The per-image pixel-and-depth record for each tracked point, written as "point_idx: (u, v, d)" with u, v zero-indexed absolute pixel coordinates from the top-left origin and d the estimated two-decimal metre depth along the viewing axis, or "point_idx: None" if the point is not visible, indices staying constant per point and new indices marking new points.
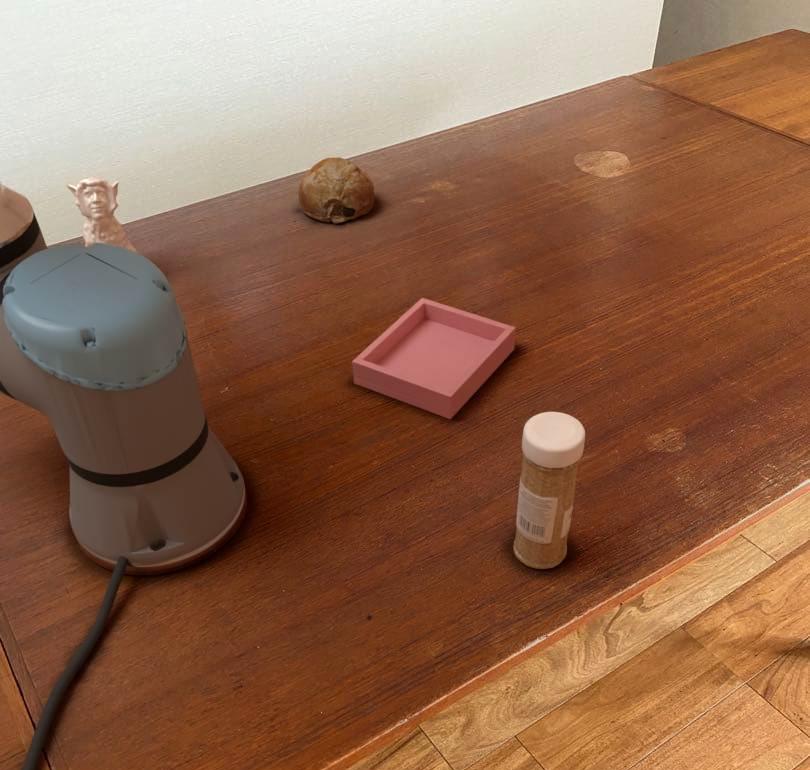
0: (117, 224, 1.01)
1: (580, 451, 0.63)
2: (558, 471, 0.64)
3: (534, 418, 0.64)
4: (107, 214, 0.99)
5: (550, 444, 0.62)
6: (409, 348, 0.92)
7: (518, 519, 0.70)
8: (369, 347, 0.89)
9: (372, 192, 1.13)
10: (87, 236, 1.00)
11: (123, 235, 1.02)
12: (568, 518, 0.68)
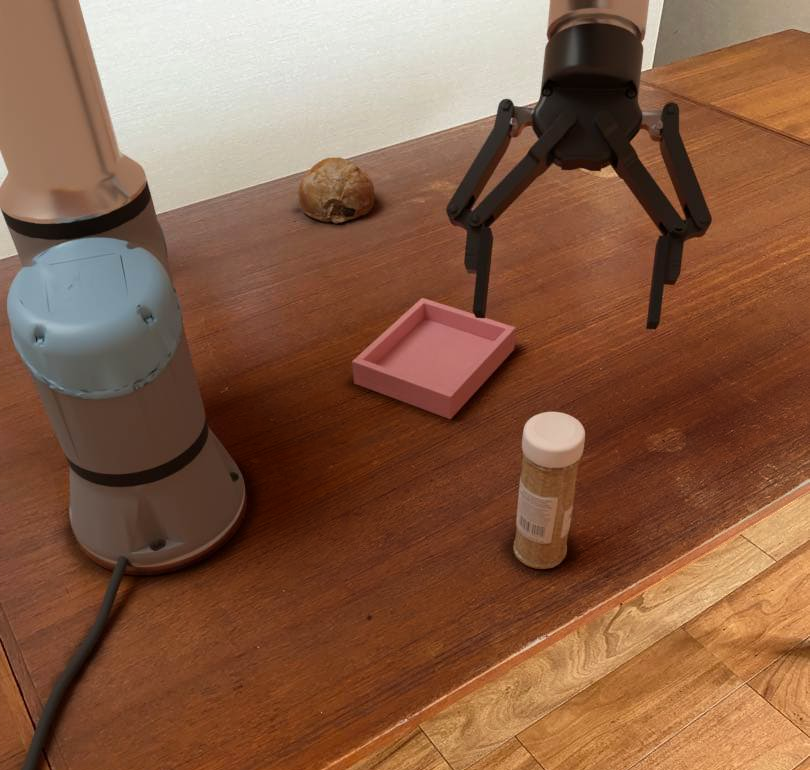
0: None
1: (580, 451, 0.63)
2: (558, 471, 0.64)
3: (534, 418, 0.64)
4: None
5: (550, 444, 0.62)
6: (409, 348, 0.92)
7: (518, 519, 0.70)
8: (369, 347, 0.89)
9: (372, 192, 1.13)
10: None
11: None
12: (568, 518, 0.68)
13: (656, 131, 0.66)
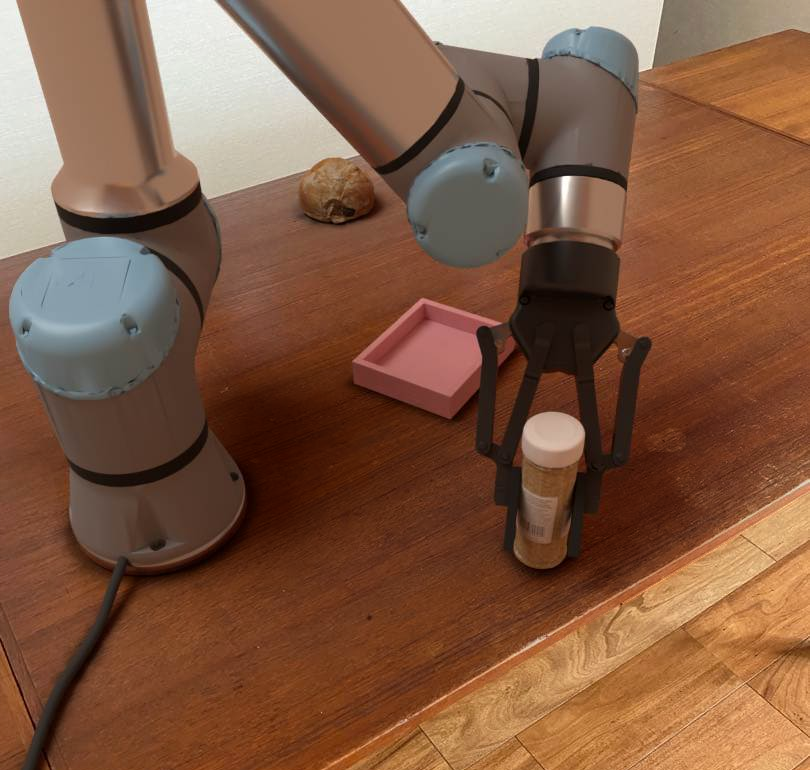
0: None
1: (580, 451, 0.63)
2: (558, 471, 0.64)
3: (534, 418, 0.64)
4: None
5: (549, 444, 0.62)
6: (409, 348, 0.92)
7: (518, 519, 0.70)
8: (369, 347, 0.89)
9: (372, 192, 1.13)
10: None
11: None
12: (568, 518, 0.68)
13: (623, 355, 0.66)
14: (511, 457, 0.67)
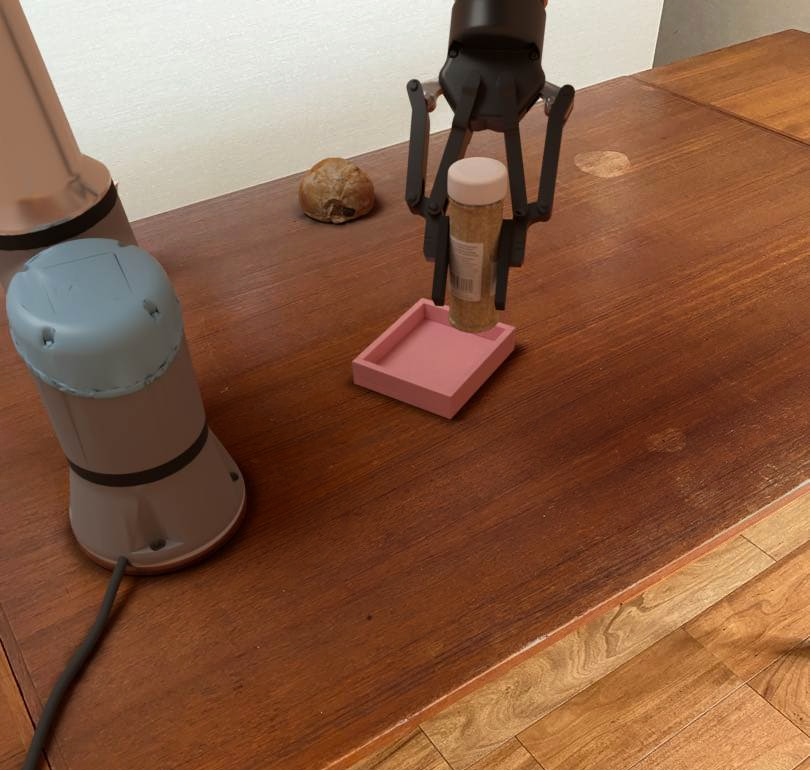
0: None
1: (502, 189, 0.65)
2: (481, 209, 0.66)
3: (459, 161, 0.66)
4: None
5: (471, 178, 0.64)
6: (409, 348, 0.92)
7: (449, 278, 0.72)
8: (369, 347, 0.89)
9: (372, 192, 1.13)
10: None
11: None
12: (496, 273, 0.70)
13: (548, 105, 0.68)
14: (439, 207, 0.69)
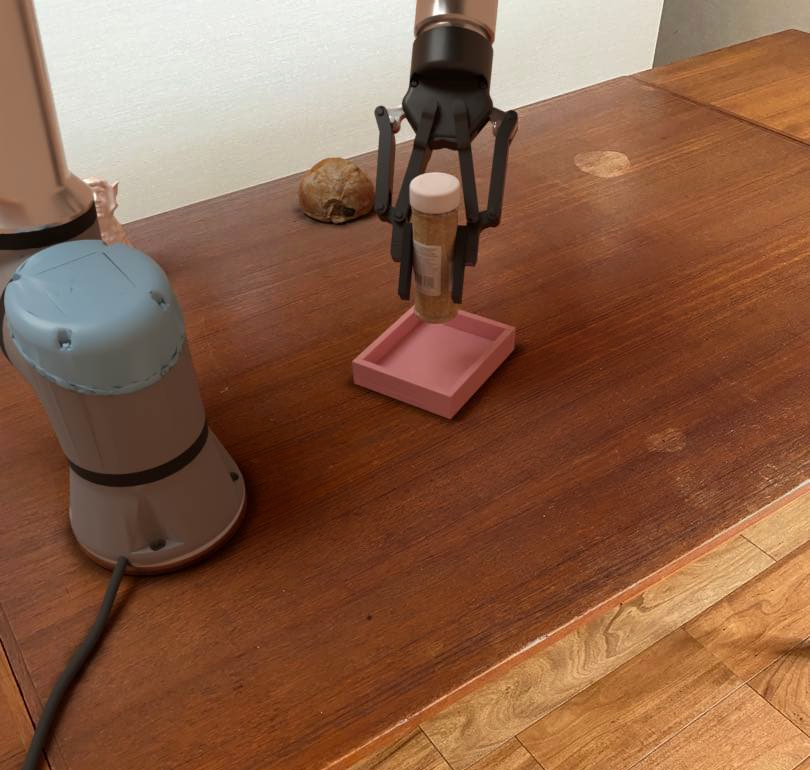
0: (117, 224, 1.01)
1: (455, 199, 0.77)
2: (438, 217, 0.77)
3: (419, 176, 0.78)
4: (107, 214, 0.99)
5: (429, 191, 0.76)
6: (409, 348, 0.92)
7: (413, 276, 0.83)
8: (369, 347, 0.89)
9: (372, 192, 1.13)
10: None
11: (123, 235, 1.02)
12: (453, 271, 0.82)
13: (495, 127, 0.79)
14: (404, 215, 0.80)
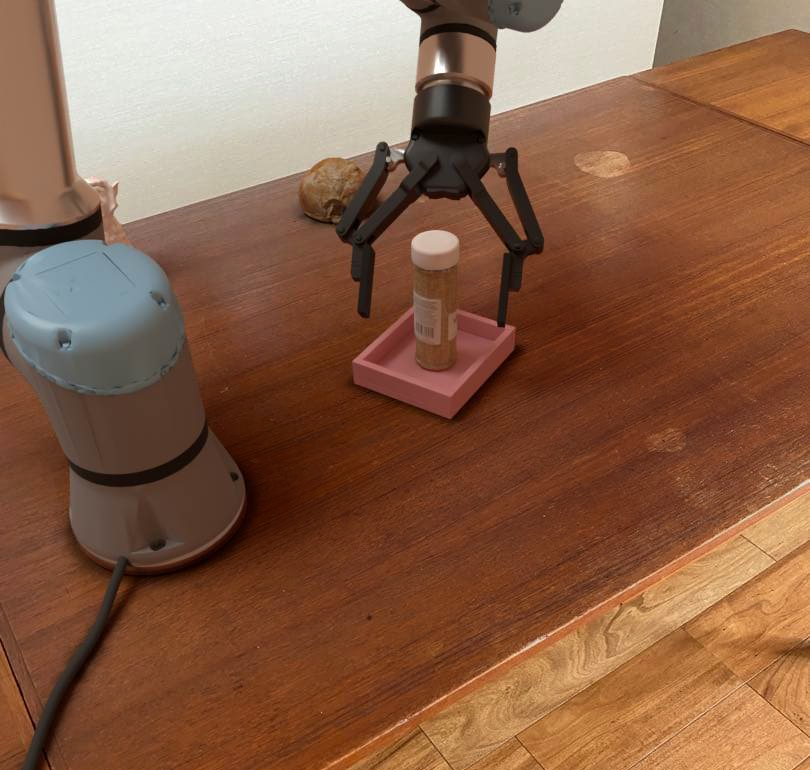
0: (117, 224, 1.01)
1: (455, 257, 0.81)
2: (438, 273, 0.81)
3: (420, 234, 0.82)
4: (107, 214, 0.99)
5: (430, 249, 0.80)
6: (409, 348, 0.92)
7: (415, 326, 0.87)
8: (369, 347, 0.89)
9: None
10: None
11: (123, 235, 1.02)
12: (453, 322, 0.86)
13: (501, 169, 0.83)
14: (362, 240, 0.84)
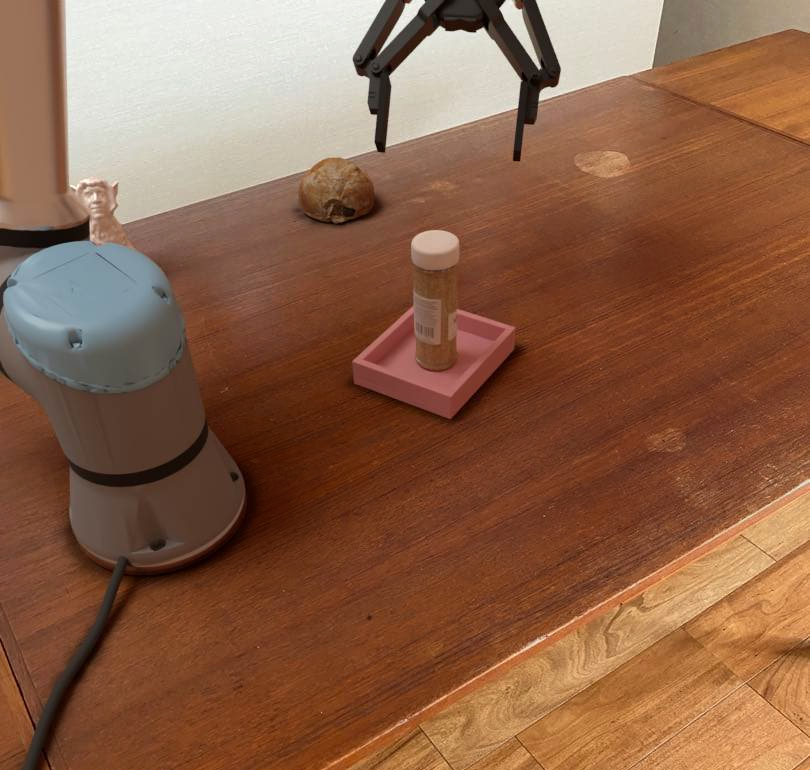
0: (117, 224, 1.01)
1: (455, 257, 0.81)
2: (438, 273, 0.81)
3: (420, 234, 0.82)
4: (107, 214, 0.99)
5: (429, 249, 0.80)
6: (409, 348, 0.92)
7: (415, 326, 0.87)
8: (369, 347, 0.89)
9: (372, 192, 1.13)
10: None
11: (123, 235, 1.02)
12: (453, 322, 0.86)
13: None
14: (379, 69, 0.84)
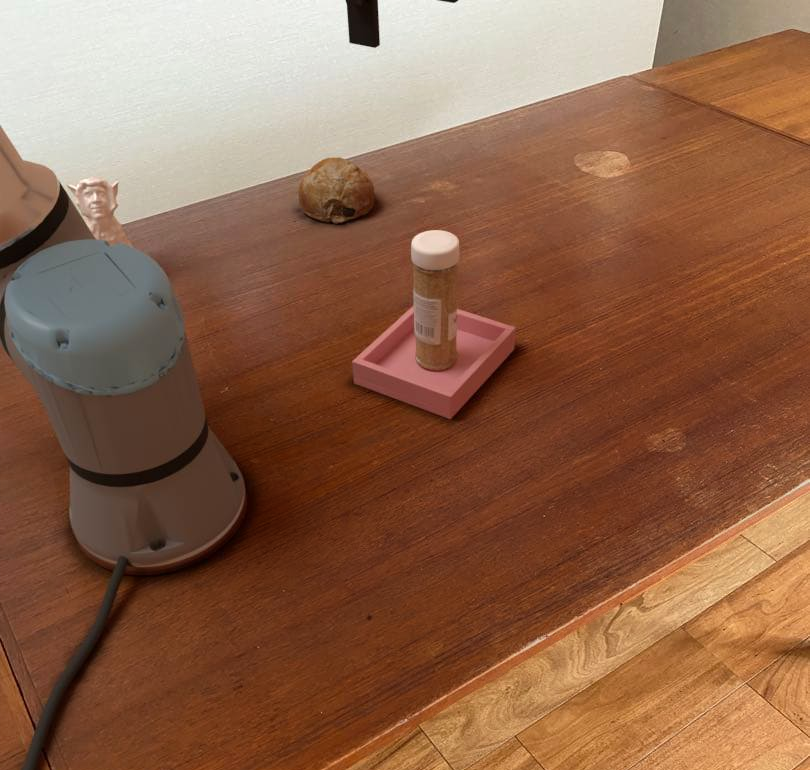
0: (117, 224, 1.01)
1: (455, 257, 0.81)
2: (438, 273, 0.81)
3: (420, 234, 0.82)
4: (107, 214, 0.99)
5: (429, 249, 0.80)
6: (409, 348, 0.92)
7: (415, 326, 0.87)
8: (369, 347, 0.89)
9: (372, 192, 1.13)
10: None
11: (123, 235, 1.02)
12: (453, 322, 0.86)
13: None
14: None
